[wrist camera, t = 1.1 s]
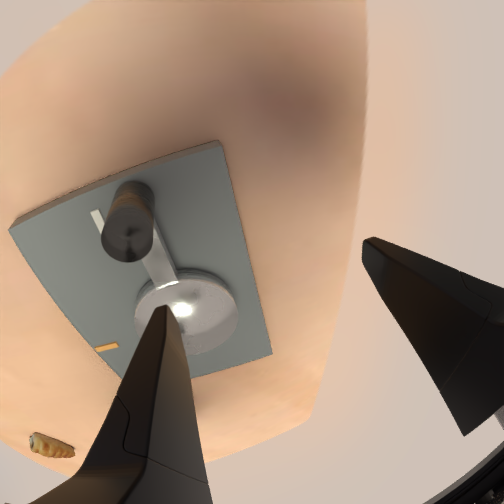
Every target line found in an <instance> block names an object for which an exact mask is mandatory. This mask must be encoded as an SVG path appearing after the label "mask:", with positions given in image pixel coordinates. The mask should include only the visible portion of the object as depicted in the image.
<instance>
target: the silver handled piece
mask: <svg viewBox="0 0 504 504" xmlns="http://www.w3.org/2000/svg"><path fill="white" fill-rule="evenodd" d="M154 210H155V196H154V193H153V191H152V190H151V188H150V187H149V186H148V185H146V184H145V183H143V182H139V181H129V182H126V183H124V184H122V185H121V186H120V187H119V188H118V189H117V190H116V192H115V195H114V198H113V200H112V203H111V206H110V209H109V212H108V215H107V217H106V220H105V223H104V227H103V230H102V233H101V243H102V246H103V249H104V250H105V252H106V253H107V254H108V255H109V256H110V257H112V258H113V259H115V260H117V261H120V262H126V263H130V262H136V261H139V260H142V262H143V264H144V266H145V268H146V270H147V272H148V274H149V275H150V277H151V279H152V280H151V281H149V282H148V283H147V284H146V285H145V286H144V287H143V288H142V289H141V291H140V292H139V294H138V296H137V299H136V302H135V319H134V322H135V329H136V332H137V334H138V336H139V337H140V339H141V337H142V334H143V332H144V330H145V328H146V326H147V324H148V322H149V319H150V317H151V315H152V313H153V311H154V309H155V308H156V307H158V306H162V305H165V304H166V305H168V306H169V307H170V309H171V311H172V312H173V314H174V316H175V318H176V320H177V322H178V324H179V328H180V332H181V337H182V341H183V345H184V349H185V353H186V356H187V355H195V354H200V353H204V352H207V351H209V350H212V349H214V348H216V347H218V346H219V345H221V344H222V343H224V342H225V341H226V340H227V339H228V338H229V337H230V336H231V335H232V333H233V332H234V330H235V328H236V326H237V323H238V311H237V307H236V304H235V301H234V298H233V295H232V292H231V290H230V289H229V287H228V286H227V285H226V284H225V283H224V282H223V281H222V280H221V279H219V278H218V277H216V276H214V275H212V274H209V273H206V272H203V271H197V270H176V267H175V265H174V263H173V261H172V258H171V256H170V254H169V251H168V249H167V247H166V244H165V242H164V240H163V237H162V235H161V232H160V230H159V228H158V225H157V223H156V220H155V218H154Z"/></svg>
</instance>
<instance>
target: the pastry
mask: <svg viewBox="0 0 504 504" xmlns="http://www.w3.org/2000/svg"><path fill="white" fill-rule="evenodd" d="M29 442H30V448H31V451H32V452H35V453H39V454H41V455H43V456H46V457H53V458H62V457H63V458H71V457H73V456H75V452H74V450H73V448H72V447H71V446H69V445H67V444H65V443H63V442H61V441H59V440H56V439H53V438H51V437H48V436H46V435H43V434H40V433H33V435H32V437H31V438H30V439H29Z"/></svg>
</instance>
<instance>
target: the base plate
mask: <svg viewBox="0 0 504 504" xmlns="http://www.w3.org/2000/svg"><path fill="white" fill-rule="evenodd" d="M129 181H139V182H143V183H145V184H146V185H148V186H149V187H150V188H151V190H152V191H153V193H154V196H155V210H154V218H155V220H156V223H157V225H158V228H159V230H160V232H161V235H162V237H163V240H164V242H165V244H166V247H167V249H168V251H169V254H170V256H171V258H172V261H173V263H174V265H175V267H176V270H197V271H203V272H206V273H209V274H212V275H214V276H216V277H218V278H219V279H221V280H222V281H223V282H224V283H225V284H226V285H227V286H228V287H229V289H230V290H231V292H232V295H233V298H234V301H235V304H236V307H237V311H238V323H237V326H236V328H235V330H234V332H233V333H232V335H231V336H230V337H229V338H228V339H227V340H226V341H225V342H224V343H222V344H221V345H219V346H218V347H216V348H214V349H212V350H209V351H207V352H204V353H200V354H195V355H187V356H186V357H187V361H188V366H189V372H190V379H192V378H195V377H199V376H203V375H207V374H210V373H214V372H217V371H221V370H224V369H228V368H231V367H234V366H238V365H241V364H244V363H247V362H250V361H254V360H257V359H260V358H263V357H266V356H269V355H272V354H273V353H272V349H271V345H270V341H269V337H268V333H267V329H266V324H265V320H264V316H263V312H262V308H261V304H260V300H259V296H258V292H257V288H256V284H255V280H254V276H253V272H252V268H251V263H250V259H249V255H248V251H247V247H246V243H245V239H244V235H243V231H242V226H241V222H240V218H239V214H238V210H237V206H236V202H235V198H234V194H233V189H232V185H231V181H230V177H229V173H228V169H227V164H226V160H225V156H224V152H223V148H222V145H221V144H220V142H219V141H218V140H216V141H213V142H209V143H206V144H202V145H199V146H196V147H192V148H189V149H186V150H182V151H179V152H176V153H173V154H170V155H167V156H164V157H161V158H158V159H155V160H152V161H149V162H146V163H143V164H141V165H138V166H135V167H132V168H130V169H127V170H124V171H122V172H119V173H117V174H114V175H111V176H109V177H106V178H104V179H101V180H99V181H97V182H94V183H92V184H89V185H87V186H85V187H82V188H80V189H78V190H76V191H73V192H71V193H69V194H67V195H64V196H62V197H60V198H58V199H56V200H54V201H52V202H50V203H47V204H45V205H43V206H41V207H39V208H37V209H35V210H33V211H31V212H29V213H28V214H26V215H24V216H22V217H20V218H18V219H16V220H15V221H14V223H13V224H12V225H11V227H10V228H9V229H8V231H9V233H10V235H11V236H12V238H13V240H14V242H15V243H16V245H17V247H18V248H19V250H20V252H21V253H22V255H23V256H24V258H25V260H26V261H27V263H28V264H29V266H30V267H31V269H32V270H33V272H34V273H35V275H36V276H37V278H38V279H39V281H40V282H41V284H42V285H43V287H44V288H45V289H46V291H47V292H48V294H49V295H50V296H51V298H52V299H53V300H54V302H55V303H56V304H57V306H58V307H59V308H60V310H61V311H62V312H63V313H64V315H65V316H66V317H67V318H68V320H69V321H70V322H71V323H72V325H73V326H74V327H75V328H76V330H77V331H78V332H79V333H80V334H81V335H82V337H83V338H84V339H85V340H86V341H87V342H88V344H89V345H90V346H91V347H92V348H93V349H94V350H95V351H96V353H97V354H98V355H99V356H100V357H101V358H102V359H103V360H104V361H105V362H106V363H107V364H108V365H109V366H110V367H111V369H112V370H113V371H114V372H115V373H116V374H117V375H118V376H119V377H120V378H121V379H123V377H124V374H125V372H126V370H127V368H128V365H129V363H130V361H131V359H132V356H133V354H134V352H135V350H136V347H137V345H138V343H139V341H140V337H139V336H138V334H137V332H136V329H135V322H134V319H135V302H136V299H137V296H138V294H139V292H140V291H141V289H142V288H143V287H144V286H145V285H146V284H147V283H148V282H149V281H151V280H152V279H151V277H150V275H149V274H148V272H147V270H146V268H145V266H144V264H143V262H142V260H139V261H136V262H130V263H126V262H120V261H117V260H115V259H113V258H112V257H110V256H109V255H108V254H107V253H106V252H105V250H104V249H103V246H102V243H101V233H102V230H103V227H104V223H105V220H106V217H107V215H108V212H109V209H110V206H111V203H112V200H113V198H114V195H115V192H116V190H117V189H118V188H119V187H120V186H121V185H122V184H124V183H126V182H129Z"/></svg>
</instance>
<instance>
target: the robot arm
mask: <svg viewBox="0 0 504 504" xmlns="http://www.w3.org/2000/svg"><path fill="white" fill-rule="evenodd" d="M362 263H363V265H364V267H365V269H366V271H367V272H368V274H369V276H370V278H371V280H372V282H373V283H374V285H375V287H376V289H377V291H378V293H379V295H380V296H381V298H382V300H383V301H384V303H385V304H386V306H387V307H388V309H389V310H390V312H391V313H392V315H393V316H394V318H395V319H396V321H397V323H398V324H399V326H400V327H401V329H402V330H403V332H404V333H405V335H406V337H407V338H408V339H409V341H410V343H411V344H412V346H413V348H414V349H415V351H416V353H417V354H418V356H419V357H420V359H421V361H422V362H423V364H424V366H425V367H426V369H427V371H428V372H429V374H430V376H431V377H432V379H433V381H434V383H435V384H436V386H437V388H438V390H439V391H440V394H441V395H442V397H443V399H444V401H445V403H446V404H447V406H448V408H449V410H450V411H451V414H452V416H453V417H454V419H455V421H456V423H457V425H458V427H459V429H460V431H461V433H462V434H463V436H466V435H467V434H469V433H470V432H471V431H473V430H474V429H475V428H477V427H478V426H479V425H481V424H482V423H483V422H484V421H486V420H487V419H488V418H489V417H491V416H492V415H493V414H494V415H495V417H496V418H497V420H498V422H499V423H500V425H501V426H502V428H503V430H504V288H502V287H499V286H497V285H494V284H491V283H488V282H486V281H483V280H480V279H478V278H475V277H473V276H471V275H468V274H466V273H464V272H461V271H460V272H459V271H458V270H457V269H454V268H452V267H450V266H447V265H445V264H443V263H440V262H438V261H435V260H433V259H431V258H428V257H426V256H423V255H421V254H418V253H416V252H413V251H411V250H408V249H406V248H403V247H400V246H398V245H395V244H393V243H390V242H387V241H385V240H382V239H379V238H377V237H371V238H368V239H365V240H364V241H363V245H362ZM116 394H117V395H116V396H115V398H114V400H113V403H112V405H111V407H110V410H109V412H108V414H107V416H106V419H105V421H104V423H103V425H102V427H101V429H100V431H99V433H98V435H97V437H96V439H95V441H94V443H93V445H92V446H91V448H90V450H89V452H88V454H87V456H86V458H85V460H84V462H83V464H82V466H81V467H80V469H79V470H78V471H77V472H76V474H75V475H73V476H72V477H71V478H70V479H68V480H67V481H65V482H63V483H62V484H60V485H59V486H57V487H56V488H54V489H53V490H51V491H49V492H48V493H46V494H45V495H43V496H41V497H40V498H38V499H36V500H35V501H33V502H31V503H29V504H213V502H212V497H211V493H210V488H209V485H208V480H207V475H206V470H205V465H204V460H203V454H202V449H201V443H200V438H199V432H198V426H197V420H196V414H195V407H194V400H193V393H192V386H191V379H190V372H189V366H188V361H187V357H186V353H185V349H184V345H183V341H182V337H181V332H180V328H179V324H178V322H177V320H176V318H175V316H174V314H173V312H172V311H171V309H170V307H169V306H168V305H166V304H165V305H162V306H158V307H156V308H155V309H154V311H153V313H152V315H151V317H150V319H149V322H148V324H147V326H146V328H145V330H144V332H143V334H142V337H141V339H140V341H139V343H138V345H137V347H136V350H135V352H134V354H133V356H132V359H131V361H130V363H129V365H128V368H127V370H126V372H125V374H124V377H123V379H122V381H121V384H120V386H119V388H118V391H117V393H116ZM474 503H475V504H504V441H503V442H502V443H501V444H500V445H499V446H498V447H497V448H496V449H495V450H494V451H492V452H491V453H490V454H489V455H488V456H487V457H486V458H485V459H483V460H482V461H481V462H480V463H479V464H478V465H476V466H475V467H474V468H473V469H471V470H470V471H469V472H468V473H466V474H465V475H464V476H463V477H461V478H460V479H459V480H457V481H456V482H454V483H453V484H452V485H450V486H449V487H448V488H446V489H445V490H443V491H442V492H440V493H439V494H437V495H436V496H434V497H433V498H431V499H430V500H428V501H427V502H425V503H424V504H474ZM5 504H9V503H5Z"/></svg>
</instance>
